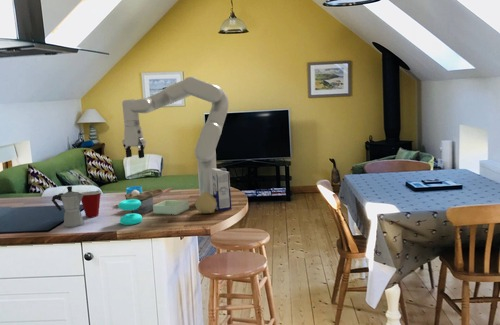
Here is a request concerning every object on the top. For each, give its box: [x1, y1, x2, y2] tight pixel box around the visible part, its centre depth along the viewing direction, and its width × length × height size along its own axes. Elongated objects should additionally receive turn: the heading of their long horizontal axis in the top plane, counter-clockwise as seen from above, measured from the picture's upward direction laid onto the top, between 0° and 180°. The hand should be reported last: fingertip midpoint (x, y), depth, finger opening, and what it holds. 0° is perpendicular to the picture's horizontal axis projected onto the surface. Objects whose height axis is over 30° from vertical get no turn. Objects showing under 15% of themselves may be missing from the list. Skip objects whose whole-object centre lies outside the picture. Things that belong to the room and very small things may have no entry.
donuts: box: [117, 199, 143, 226], centre depth 228 cm, size 10×10×10 cm
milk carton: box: [211, 167, 233, 212], centre depth 243 cm, size 7×7×20 cm
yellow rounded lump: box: [195, 192, 217, 214], centre depth 236 cm, size 10×12×11 cm
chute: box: [124, 187, 174, 200], centre depth 254 cm, size 16×18×4 cm
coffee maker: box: [51, 185, 85, 229], centre depth 229 cm, size 15×9×18 cm, turn 92°
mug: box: [125, 185, 143, 201], centre depth 270 cm, size 12×8×8 cm
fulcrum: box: [131, 197, 154, 214], centre depth 251 cm, size 8×12×5 cm, turn 155°
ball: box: [131, 190, 139, 196], centre depth 252 cm, size 4×4×4 cm
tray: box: [152, 199, 190, 216], centre depth 245 cm, size 13×11×4 cm
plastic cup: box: [79, 190, 103, 218], centre depth 244 cm, size 11×11×12 cm
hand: (135, 157), depth 257 cm, fingers open, 9 cm apart
